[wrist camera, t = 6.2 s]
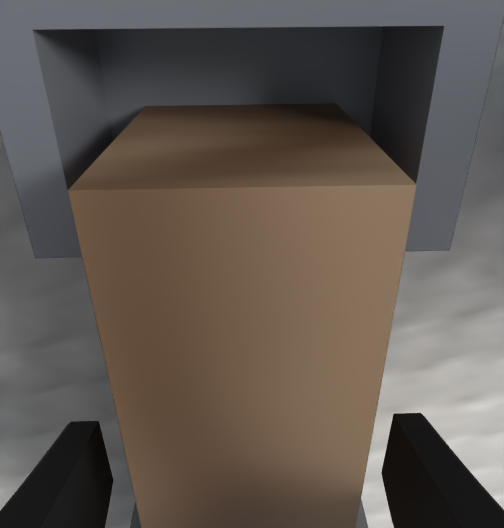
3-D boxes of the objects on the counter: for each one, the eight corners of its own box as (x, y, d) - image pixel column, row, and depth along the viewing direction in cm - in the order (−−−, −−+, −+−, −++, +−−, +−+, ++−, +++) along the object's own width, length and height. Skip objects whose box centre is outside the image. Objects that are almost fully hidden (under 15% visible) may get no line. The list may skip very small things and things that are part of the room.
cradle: (433, -40, 9) (538, -64, 6) (343, 528, 18) (365, 636, 15) (40, -38, 9) (-69, -61, 6) (153, 533, 18) (135, 644, 15)
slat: (336, 102, 10) (416, 185, 5) (304, 506, 17) (327, 686, 12) (145, 105, 10) (67, 190, 5) (193, 509, 16) (177, 691, 12)
